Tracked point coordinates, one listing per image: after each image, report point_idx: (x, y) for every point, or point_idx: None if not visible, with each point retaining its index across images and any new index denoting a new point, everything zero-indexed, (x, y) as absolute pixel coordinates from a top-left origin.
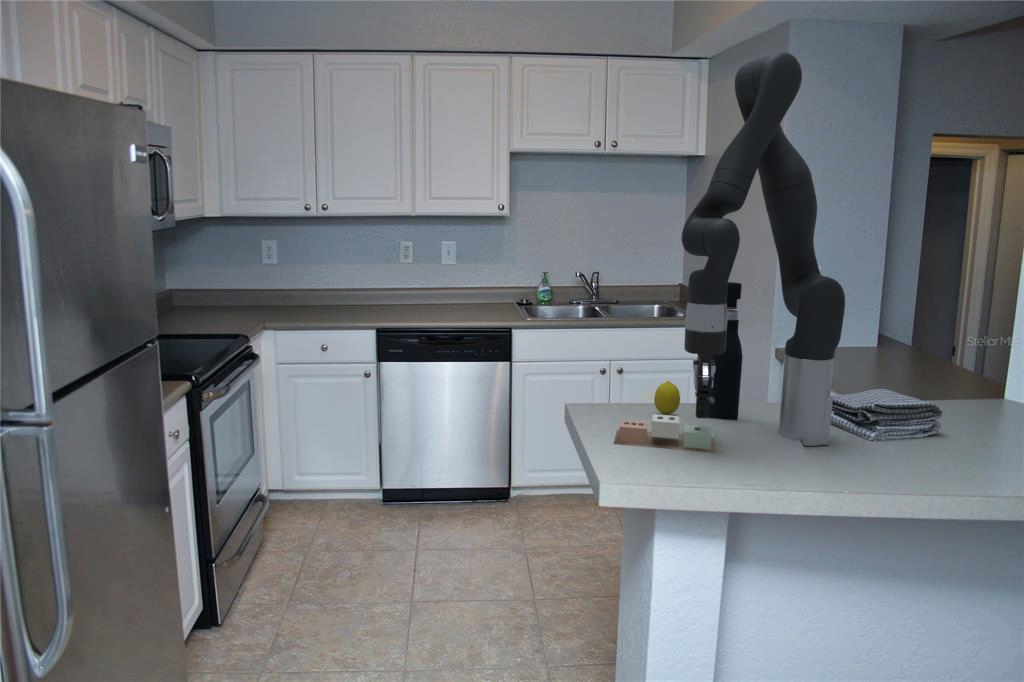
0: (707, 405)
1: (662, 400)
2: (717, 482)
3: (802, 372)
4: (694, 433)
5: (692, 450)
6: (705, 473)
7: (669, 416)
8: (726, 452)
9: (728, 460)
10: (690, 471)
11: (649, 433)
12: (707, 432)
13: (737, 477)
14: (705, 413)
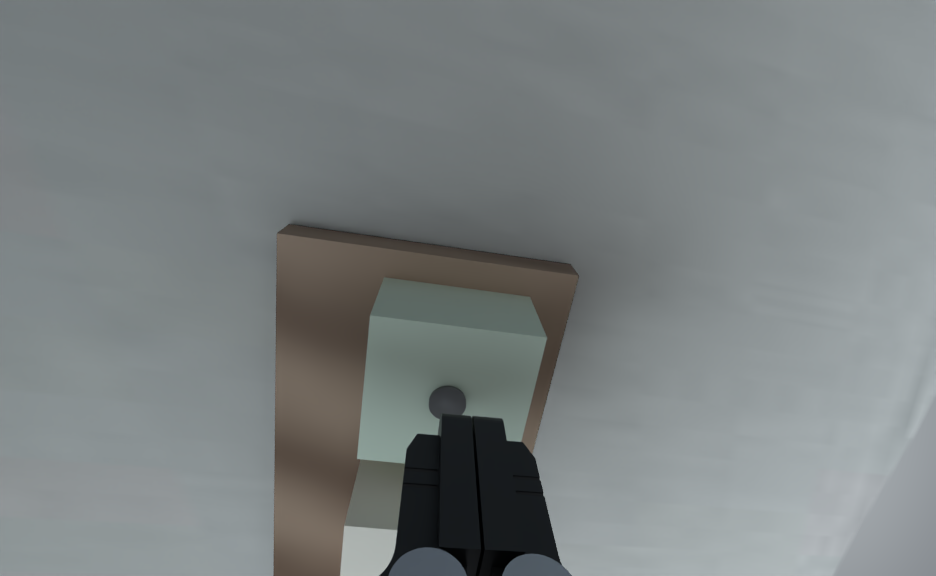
0: (514, 503)
1: None
2: (884, 316)
3: None
4: (522, 423)
5: (549, 382)
6: (769, 344)
7: (364, 572)
8: (458, 186)
9: (594, 205)
10: (737, 397)
11: (304, 525)
12: (512, 355)
13: (844, 215)
14: (536, 465)
